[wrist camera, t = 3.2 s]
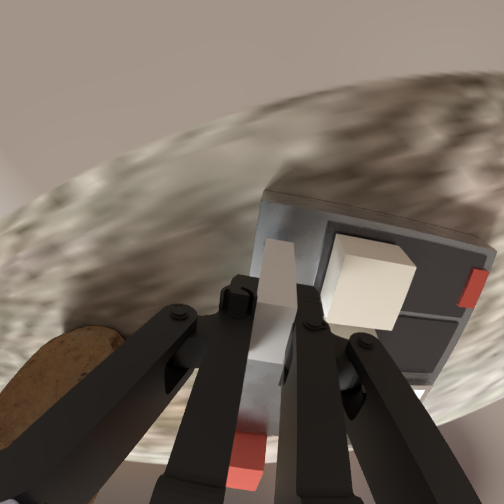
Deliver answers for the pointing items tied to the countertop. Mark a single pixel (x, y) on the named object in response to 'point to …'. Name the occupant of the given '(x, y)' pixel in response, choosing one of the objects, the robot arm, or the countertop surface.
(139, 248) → the countertop surface
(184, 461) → the robot arm
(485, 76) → the countertop surface
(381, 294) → the toggle
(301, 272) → the panel
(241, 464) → the coral toy cube
